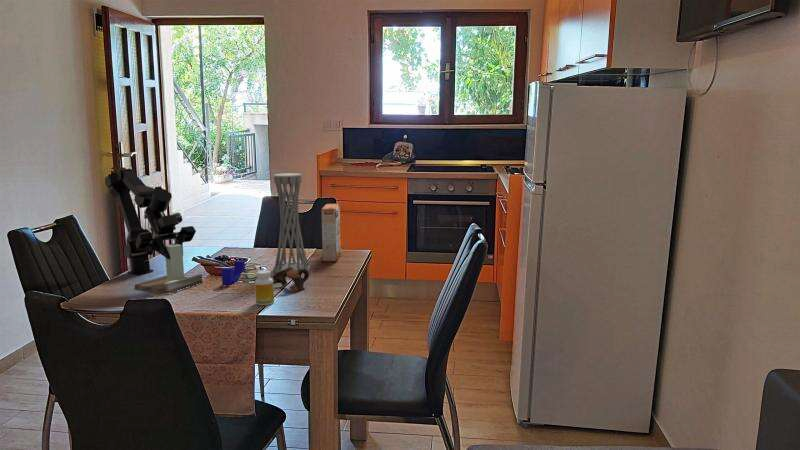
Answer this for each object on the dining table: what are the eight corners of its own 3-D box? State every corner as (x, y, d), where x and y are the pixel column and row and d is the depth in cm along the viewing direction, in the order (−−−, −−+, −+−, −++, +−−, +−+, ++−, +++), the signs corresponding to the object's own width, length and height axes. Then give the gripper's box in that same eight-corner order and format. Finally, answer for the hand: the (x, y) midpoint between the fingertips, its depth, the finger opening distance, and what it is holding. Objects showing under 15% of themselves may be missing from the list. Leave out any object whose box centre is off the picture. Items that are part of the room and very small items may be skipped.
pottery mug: (285, 296, 186) (273, 273, 187) (277, 302, 194) (266, 280, 195) (317, 281, 192) (306, 258, 193) (309, 287, 200) (298, 265, 201)
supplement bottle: (275, 304, 176) (273, 273, 175) (256, 306, 175) (255, 274, 173) (272, 299, 182) (271, 268, 180) (254, 301, 180) (253, 270, 178)
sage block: (167, 277, 196) (164, 245, 194) (178, 275, 199) (176, 243, 197) (172, 280, 193) (170, 247, 191) (184, 277, 196) (181, 245, 194)
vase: (299, 275, 209) (294, 176, 203) (266, 272, 214) (260, 175, 207) (316, 266, 222) (313, 173, 216) (285, 264, 226) (280, 172, 220)
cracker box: (337, 262, 229) (336, 208, 225) (322, 262, 229) (320, 208, 225) (341, 253, 242) (340, 203, 239) (327, 254, 242) (325, 203, 239)
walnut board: (135, 288, 196) (134, 278, 195) (169, 278, 208) (168, 269, 207) (169, 294, 189) (168, 284, 188) (202, 283, 201) (201, 274, 200)
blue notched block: (233, 276, 209) (232, 260, 208) (245, 277, 209) (244, 260, 208) (218, 286, 198) (217, 268, 197) (231, 286, 197) (229, 269, 196)
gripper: (135, 208, 188) (154, 247, 182) (191, 202, 201) (209, 238, 196) (128, 230, 195) (145, 268, 189) (182, 222, 208) (199, 258, 202)
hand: (175, 257), depth 194 cm, fingers closed on sage block, 4 cm apart
